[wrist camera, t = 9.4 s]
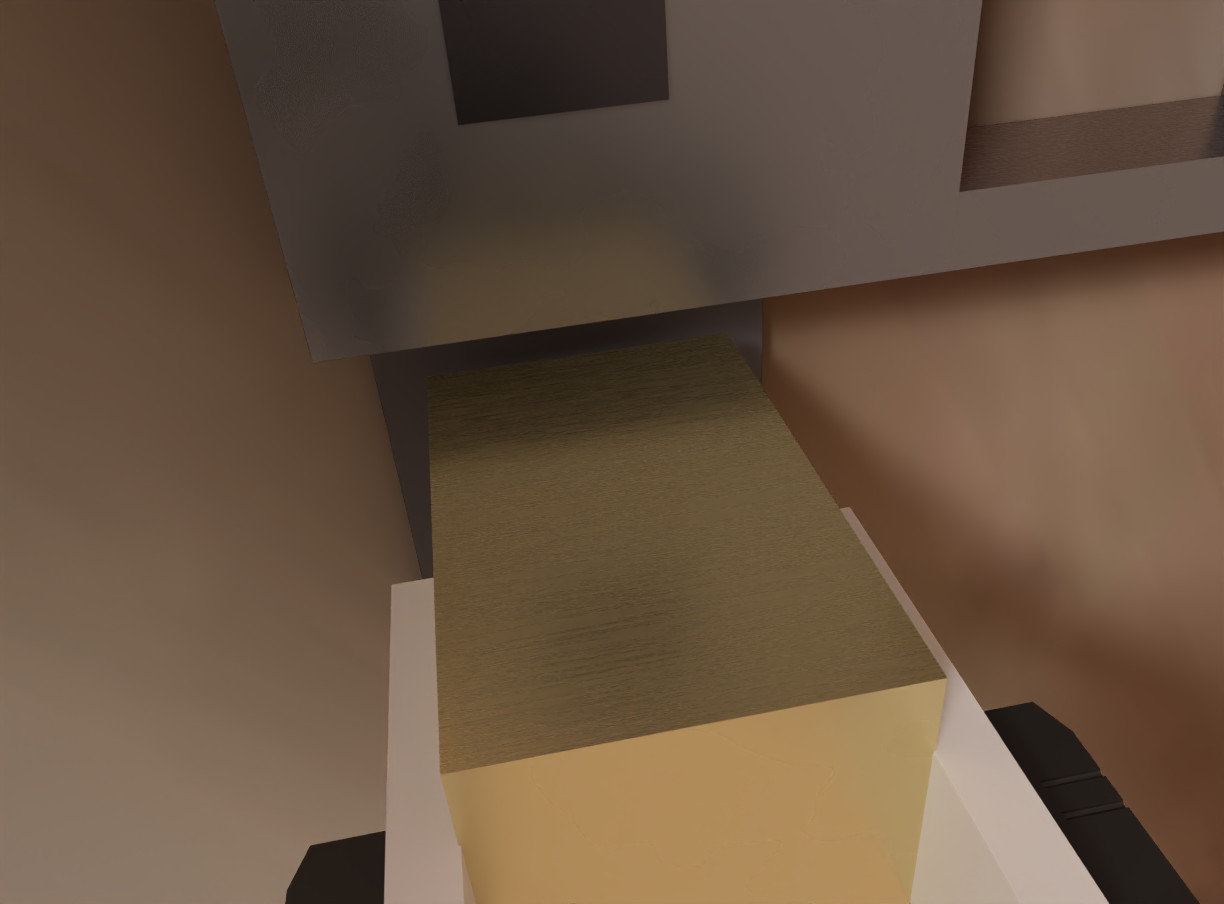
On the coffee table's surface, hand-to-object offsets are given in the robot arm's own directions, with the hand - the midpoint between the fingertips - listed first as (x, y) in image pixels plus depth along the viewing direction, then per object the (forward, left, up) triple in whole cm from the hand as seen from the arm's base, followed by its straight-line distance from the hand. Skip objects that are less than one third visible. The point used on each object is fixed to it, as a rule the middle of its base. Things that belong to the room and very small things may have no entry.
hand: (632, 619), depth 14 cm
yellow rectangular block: (0, 0, -4) cm, 4 cm away
